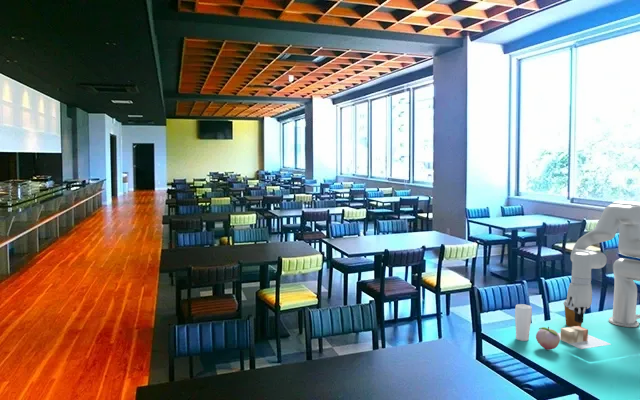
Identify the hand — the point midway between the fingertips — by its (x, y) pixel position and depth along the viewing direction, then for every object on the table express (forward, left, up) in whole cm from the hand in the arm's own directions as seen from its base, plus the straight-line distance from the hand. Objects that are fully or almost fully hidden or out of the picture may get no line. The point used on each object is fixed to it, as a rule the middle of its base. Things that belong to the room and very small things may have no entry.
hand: (578, 321), depth 221 cm
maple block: (-3, 0, -6) cm, 6 cm away
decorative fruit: (+20, +4, -9) cm, 22 cm away
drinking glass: (+22, -9, -9) cm, 25 cm away
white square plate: (-1, 0, -9) cm, 9 cm away
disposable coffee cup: (-13, -15, -9) cm, 22 cm away
